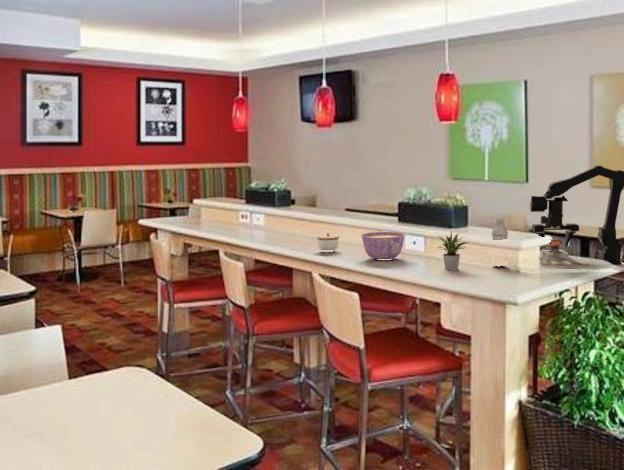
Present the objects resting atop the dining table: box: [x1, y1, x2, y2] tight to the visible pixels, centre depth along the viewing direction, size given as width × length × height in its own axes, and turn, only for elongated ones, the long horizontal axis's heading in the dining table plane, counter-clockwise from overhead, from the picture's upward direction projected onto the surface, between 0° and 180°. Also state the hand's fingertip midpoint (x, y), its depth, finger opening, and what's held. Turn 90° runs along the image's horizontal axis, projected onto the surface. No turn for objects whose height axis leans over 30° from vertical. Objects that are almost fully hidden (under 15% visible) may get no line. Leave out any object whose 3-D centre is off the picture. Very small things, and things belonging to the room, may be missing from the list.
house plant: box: [437, 230, 469, 271], centre depth 292 cm, size 14×14×16 cm
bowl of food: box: [361, 231, 406, 260], centre depth 322 cm, size 20×20×12 cm
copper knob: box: [547, 238, 563, 253], centre depth 300 cm, size 6×6×9 cm
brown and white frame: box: [539, 249, 584, 270], centre depth 297 cm, size 16×18×5 cm
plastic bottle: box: [491, 219, 508, 241], centre depth 294 cm, size 6×7×20 cm
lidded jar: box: [316, 232, 340, 251], centre depth 348 cm, size 11×11×9 cm
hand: (554, 247), depth 300 cm, fingers open, 9 cm apart
